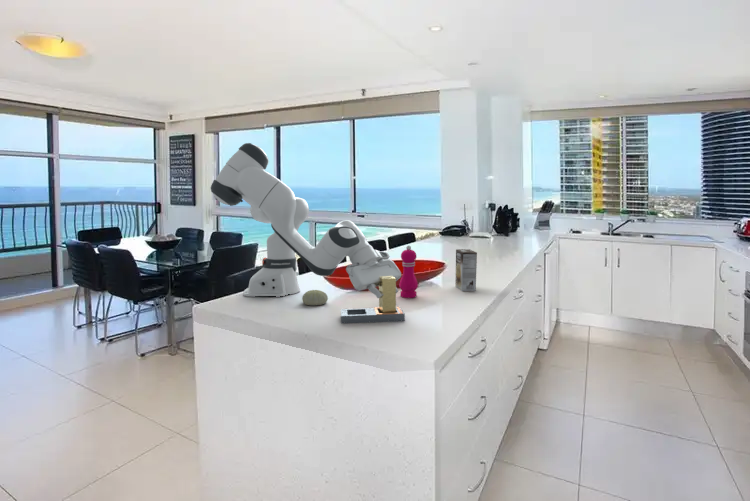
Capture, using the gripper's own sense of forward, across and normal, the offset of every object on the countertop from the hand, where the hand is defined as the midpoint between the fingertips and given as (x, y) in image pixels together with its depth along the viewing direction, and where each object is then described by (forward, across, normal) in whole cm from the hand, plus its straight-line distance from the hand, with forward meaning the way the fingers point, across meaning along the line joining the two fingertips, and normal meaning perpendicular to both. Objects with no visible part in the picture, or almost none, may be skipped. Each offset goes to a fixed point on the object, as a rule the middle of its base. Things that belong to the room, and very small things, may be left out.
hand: (388, 294), depth 140 cm
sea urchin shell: (-18, -3, +29) cm, 34 cm away
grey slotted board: (+3, -4, +8) cm, 10 cm away
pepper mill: (-4, +28, +15) cm, 32 cm away
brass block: (+4, 0, +5) cm, 6 cm away
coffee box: (+3, +54, +8) cm, 54 cm away
